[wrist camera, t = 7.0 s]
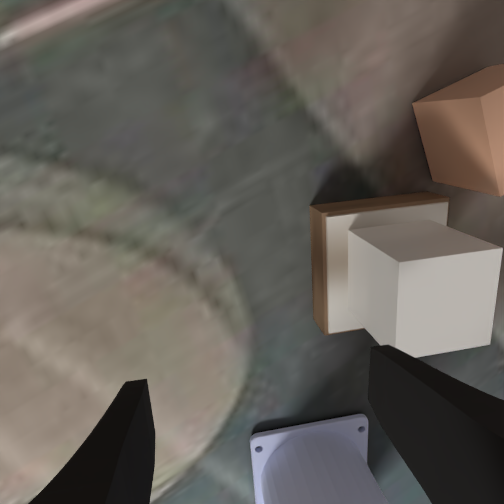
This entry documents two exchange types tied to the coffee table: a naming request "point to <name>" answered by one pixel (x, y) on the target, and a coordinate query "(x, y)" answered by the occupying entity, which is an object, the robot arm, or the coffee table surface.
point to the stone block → (423, 286)
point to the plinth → (336, 246)
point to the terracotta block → (466, 132)
